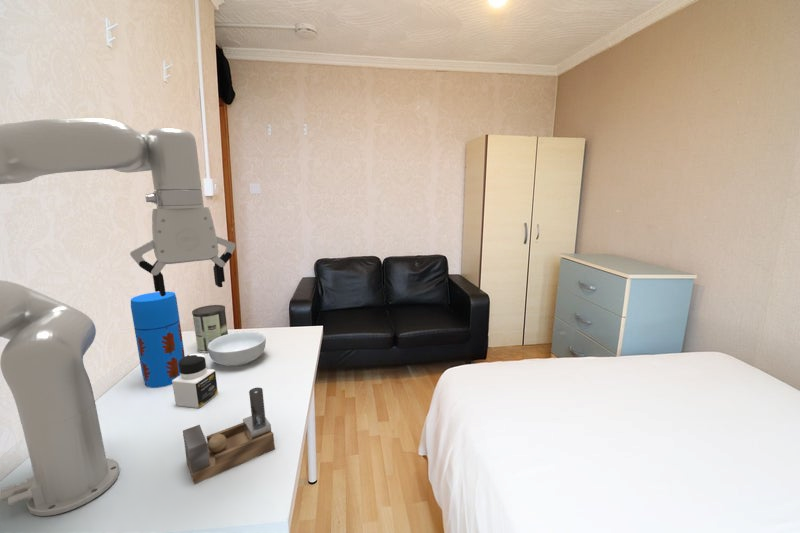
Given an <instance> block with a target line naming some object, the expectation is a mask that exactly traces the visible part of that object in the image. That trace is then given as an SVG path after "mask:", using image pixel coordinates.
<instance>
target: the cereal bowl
mask: <svg viewBox="0 0 800 533" xmlns="http://www.w3.org/2000/svg"><path fill="white" fill-rule="evenodd" d="M265 348H266V336H265V335H264V334H263V333H261V332H257V331H256V332H255V331H239V332H232V333H228V334H227V335H223V336H221V337H218V338H216V339H214V340H213V341H211V342H210V343H209V344H208V352H209V353H208V355H209V357H210V359H211V360H212V361H213V362H214V363H217V364H219V365H221V366H227V367H241V366H245V365H247V364H250V363H251V362H253V361H254V360H256V359H258V358H259V357H260V356H261V355H262V354H263V352H264V351H265Z"/></svg>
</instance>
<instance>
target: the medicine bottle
mask: <svg viewBox="0 0 800 533" xmlns="http://www.w3.org/2000/svg"><path fill="white" fill-rule="evenodd" d="M178 364H179V371H180V376H178V377H177V378H175V379H174V380H172V384H171V385H172V389H173V396H174V402H175V406H178V407H187V408H194V409H200V408H202V407H203V406H204V405H205V404H207V403H208V402H209V401H210V400H212V399H213V398H214V397H216V396H217V395H218V394H219V391H218V383H217V375H216V370H215V369H210V368H207V360H206V356H205V355H204V354H203V353H202V354H201V353H191V354H188V355H186V356H185V357H183V358H182V359H180V360H179V362H178Z"/></svg>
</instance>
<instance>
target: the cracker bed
mask: <svg viewBox="0 0 800 533" xmlns="http://www.w3.org/2000/svg"><path fill="white" fill-rule="evenodd" d="M216 434H222V435H224V436H225V437H226V439H227V444H226V447H225V448H224V449H223V450H222V451H221V452H218V453H213V452H211V451H210V450H209V449H208V442H209V440H210V438H211V437H212V436H214V435H216ZM182 435H183V436H182V437H183V441H184V442H183V443H184V450H185V457H186V462H187V466H188V469H189V472H190V475H191V476H190V477H191V478H192V483H193V485H195V484H198V483H200V482H203V481H205V480H208V479H210V478H212V477H215V476H216V475H219V474H221V473H224V472H225V471H227V470H230V469H232V468H235V467H237V466H239V465H241V464H244V463H246V462H249V461H250V460H253V459H255V458H258V457H259V456H263V455H264V454H267V453H268V452H271V451H273V450H275V449H276V448H275V447H276V446H275V437H274V432H273V431H271V432H270V433H267V434H265V435H263V436H260V437H258V438H255V439H253V440H249V438H248V437H247V435H246V433H245V431H244V426H243V422H240V423H239V424H236V425H233V426H230V427H228V428H224V429H222V430H220V431H216V432H215V433H212V434H210V435H209V434H208V435H206V437H205V434H204V432H203V430H202V427H201V425H200V424H197V425H195V426H192V427H189V428H185V429H183V430H182Z"/></svg>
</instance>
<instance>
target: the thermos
mask: <svg viewBox="0 0 800 533" xmlns="http://www.w3.org/2000/svg"><path fill="white" fill-rule="evenodd" d="M165 292H166V295H165V296H161V295H160V292H159V291H158V292H155V291H154V292H149V293H148V292H147V293H144V294H139V295H136V296H133V297H132V298H130V309H131V316H132V321H133V322H132V323H133V328H134V333H135V340H136V345H137V352H138V357H139V364H140V369H141V375H142V378H143V384H144V385H145V386H146V387H148V388H151V389H152V388H154V389H155V388H163V387H168V386H170V385H173V384H172V380H174V379H175V378H177V377H178V376H180V371H179V364H178V362H179V360H180V359H182V358H183V357H185V350H184V341H183V335H182V327H181V322H180V312H179V307H178V302H177V301H178V299H177V295H176V293H175V292H174V291H165Z"/></svg>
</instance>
